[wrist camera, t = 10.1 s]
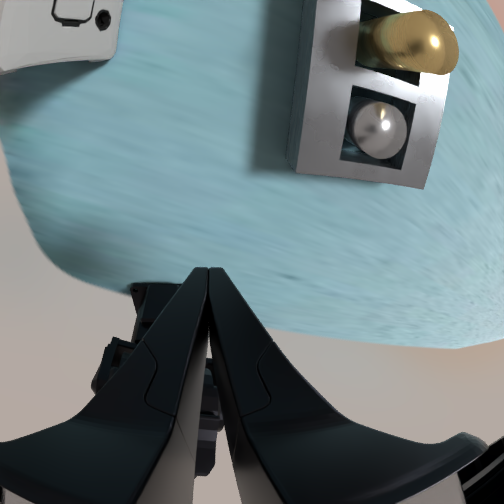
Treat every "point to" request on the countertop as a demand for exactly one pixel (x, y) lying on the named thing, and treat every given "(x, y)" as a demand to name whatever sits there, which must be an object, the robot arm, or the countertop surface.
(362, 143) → the silver round knob
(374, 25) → the gold domed cylinder
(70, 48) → the electrical switch
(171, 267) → the countertop surface
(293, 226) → the countertop surface
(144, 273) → the countertop surface
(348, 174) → the jig
